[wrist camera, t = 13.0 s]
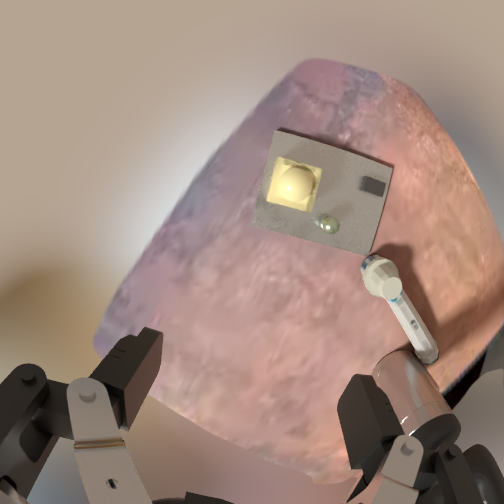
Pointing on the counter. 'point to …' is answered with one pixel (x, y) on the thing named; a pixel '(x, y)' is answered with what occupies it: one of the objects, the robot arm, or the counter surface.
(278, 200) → the cube with dome bump
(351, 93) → the counter surface
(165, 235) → the counter surface
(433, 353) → the white handheld device
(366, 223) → the plate
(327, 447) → the counter surface
